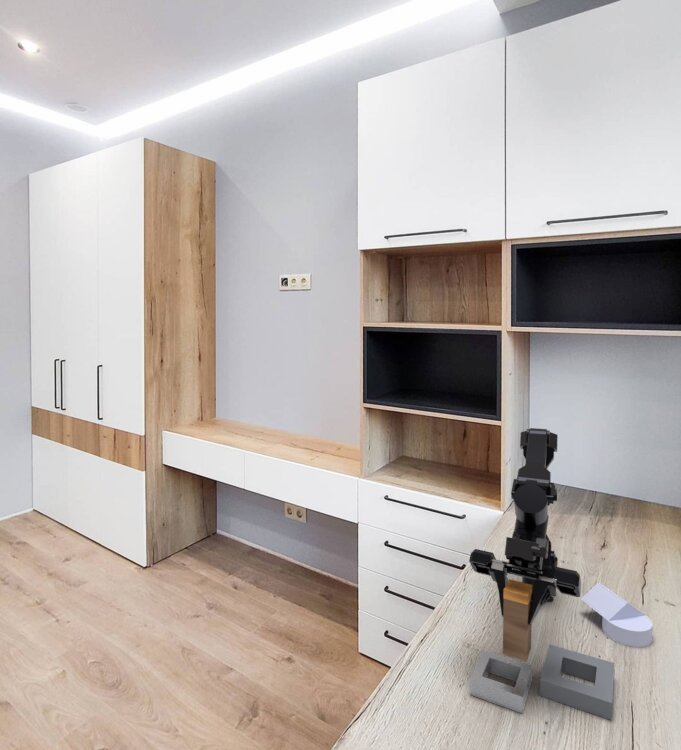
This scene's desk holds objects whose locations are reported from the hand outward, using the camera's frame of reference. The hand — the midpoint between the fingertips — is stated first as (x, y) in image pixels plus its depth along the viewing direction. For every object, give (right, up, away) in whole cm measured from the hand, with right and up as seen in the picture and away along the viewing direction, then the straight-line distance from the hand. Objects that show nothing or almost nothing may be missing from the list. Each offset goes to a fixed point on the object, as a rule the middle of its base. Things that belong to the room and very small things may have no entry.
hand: (516, 620), depth 86 cm
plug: (+1, -6, +2) cm, 7 cm away
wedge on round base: (+29, -11, +19) cm, 36 cm away
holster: (-2, -13, +2) cm, 14 cm away
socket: (+12, -13, +2) cm, 18 cm away
